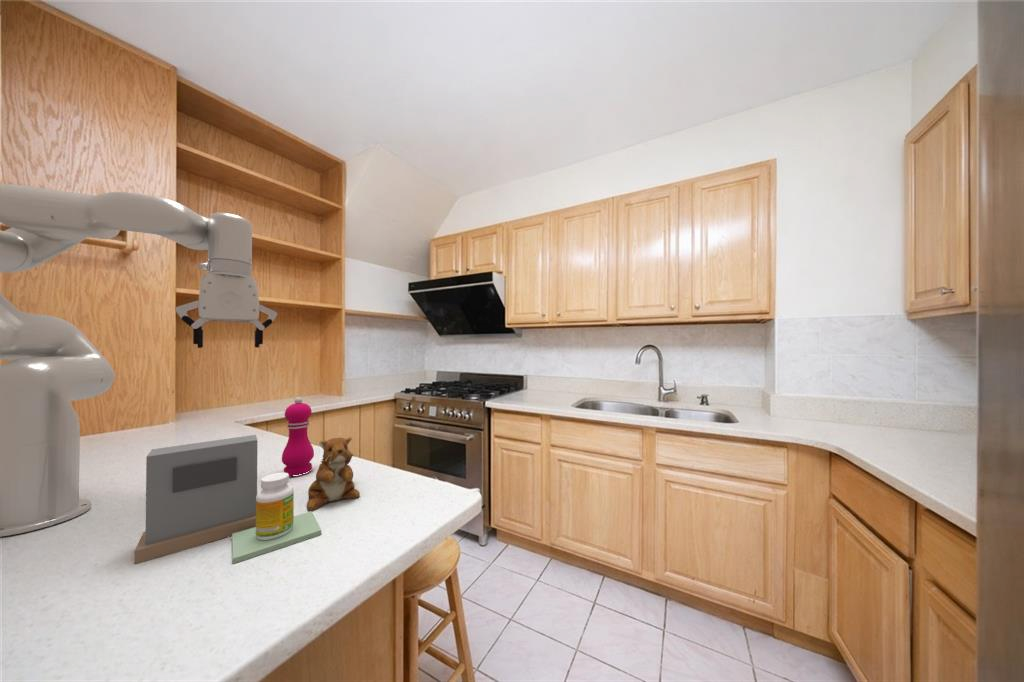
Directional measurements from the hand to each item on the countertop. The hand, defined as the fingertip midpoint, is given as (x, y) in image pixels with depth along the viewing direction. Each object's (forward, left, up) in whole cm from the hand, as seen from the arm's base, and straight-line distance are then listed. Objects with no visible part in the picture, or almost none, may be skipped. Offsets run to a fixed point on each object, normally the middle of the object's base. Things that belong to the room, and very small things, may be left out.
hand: (229, 347), depth 74 cm
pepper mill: (+14, +7, -34) cm, 37 cm away
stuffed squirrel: (+18, -13, -34) cm, 40 cm away
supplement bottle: (+6, -25, -33) cm, 42 cm away
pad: (+6, -25, -33) cm, 42 cm away
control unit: (-3, -16, -33) cm, 37 cm away
